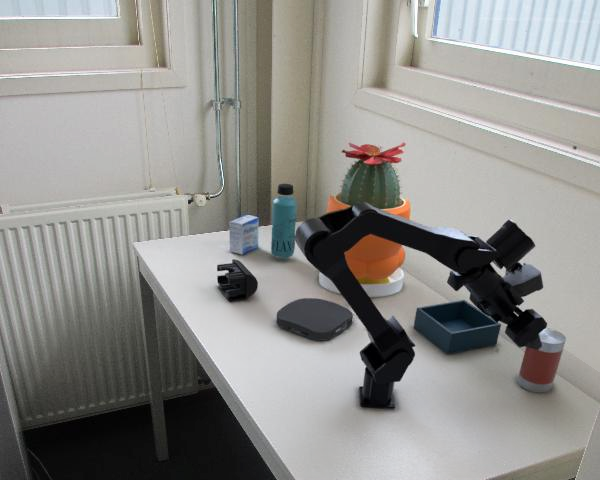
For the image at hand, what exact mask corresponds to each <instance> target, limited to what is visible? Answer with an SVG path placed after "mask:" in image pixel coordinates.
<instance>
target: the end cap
mask: <svg viewBox="0 0 600 480" xmlns="http://www.w3.org/2000/svg"><path fill="white" fill-rule="evenodd" d="M216 271H217V272H224V271H227V272H225V273H224V274H220V275H216V281H217V288H218V290H219V291H220V292H221V294H222V295H223V297H224V298H225V299H226V300H227V301H228V302H229V303H234V302H241V301H246V300H249V298H251V297H252V296H253V295H255V293H257V290H258V287H259V281H258V279H257V277H255V276H254V274H253V273H252V272H251V271H250V270H249V269H248V267H246V266H245V265H244V264H243V262H242V261H240V260H238V259H235V258H232V260H231V262H229V263H221V264H217V265H216Z"/></svg>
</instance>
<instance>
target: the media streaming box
mask: <svg viewBox="0 0 600 480" xmlns="http://www.w3.org/2000/svg"><path fill="white" fill-rule="evenodd" d="M353 318H354V313H353V312H352V311H351V310H350V309H349V308H348V307H345V306H344V305H341V304H338V303H336V302H333V301H330V300H326V299H324V298H323V299H322V298H317V297H302V298H298V299H295V300H293V301H291V302H289V303H287V304H285V305H284V306H282V307H281V308H280V309H279V310H278V311H277V312H276V320H275V321H276V325H277V326H278V327H279V328H281V329H283V330H286V331H288V332H291V333H293V334H296V335H300V336H302V337H304V338H308V339H311V340H316V341H327V340H330V339H333V338H334V337H336V336H337V335H339V334H340V333H342V332H344V331H345V330H347V329H348V328H349V327H350V326H352V325H353Z"/></svg>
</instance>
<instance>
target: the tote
mask: <svg viewBox="0 0 600 480" xmlns="http://www.w3.org/2000/svg"><path fill="white" fill-rule="evenodd" d="M501 327H502V324H501V322H497V323H496V322H495V321H494V320H493V319H492V318H491V317H490V316H488V315H486V314H484V313H483V312H482V311H481V310H479V309H478V308H477V307H476V306H475V305H474V304H471V303H470V302H468V301H467V300H465V299H461V300H455V301H450V302H442V303H438V304H432V305H425V306H420V307H419V306H418V307H416V311H415V317H414V322H413V328H414V329H415V330H416V331H417V332H418V333H420V334H421V335H422V336H424V337H425V338H426V339H427V340H428V341H430V343H432V344H433V345H435V346H436V347H437V348H438V349H439V350H441V351H442V352H443V353H445V354H446V355H452V354H458V353H463V352H467V351H472V350H477V349H480V348H486V347H491V346H496V345H497V344H498V339H499V335H500V332H501Z"/></svg>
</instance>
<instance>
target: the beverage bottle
mask: <svg viewBox="0 0 600 480" xmlns="http://www.w3.org/2000/svg"><path fill="white" fill-rule="evenodd" d="M277 194H278V195H280V196H277V197H276V198H275V199H274V200H272V228H271V242H270V243H271V244H270V245H271V247H270V252H271V255H272V256H274V257H277V258H290V257H292V256H294V254H295V246H296V241H295V234H296V229H297V228H296V223H297V204H298V203H297V200H295V199H294V197H292V195H294V185H293V184H290V183H279V184H278V186H277Z"/></svg>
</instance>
